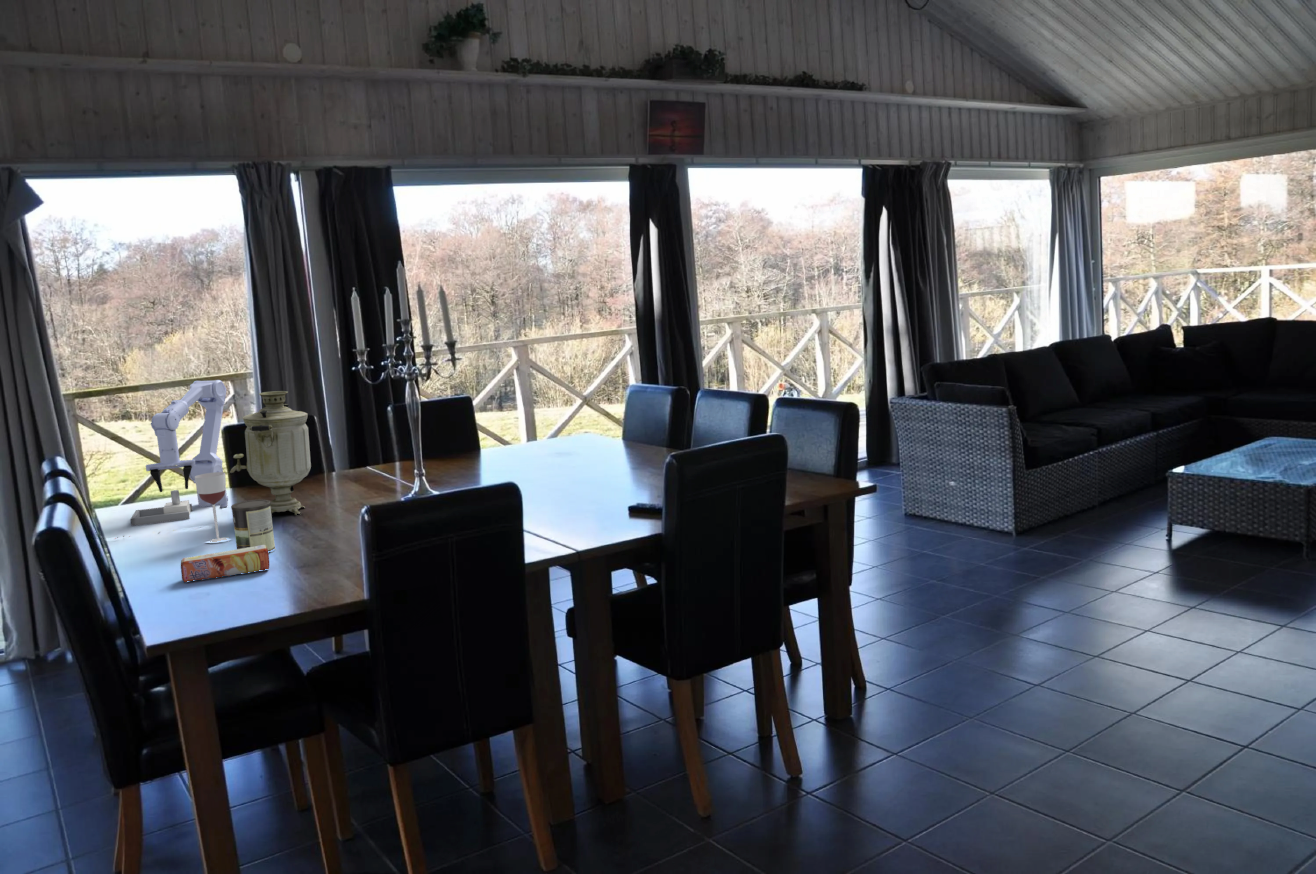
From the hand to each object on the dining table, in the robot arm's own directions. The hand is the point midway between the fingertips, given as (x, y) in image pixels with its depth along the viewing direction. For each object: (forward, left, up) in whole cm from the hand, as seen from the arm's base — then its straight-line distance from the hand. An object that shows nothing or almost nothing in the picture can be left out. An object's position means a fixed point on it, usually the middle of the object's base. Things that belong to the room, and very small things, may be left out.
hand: (174, 490), depth 340 cm
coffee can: (-25, +62, -10) cm, 67 cm away
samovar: (-31, +10, -10) cm, 34 cm away
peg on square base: (0, +1, -9) cm, 9 cm away
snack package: (-18, +83, -10) cm, 86 cm away
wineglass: (-14, +41, -10) cm, 44 cm away
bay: (+4, +1, -10) cm, 11 cm away
